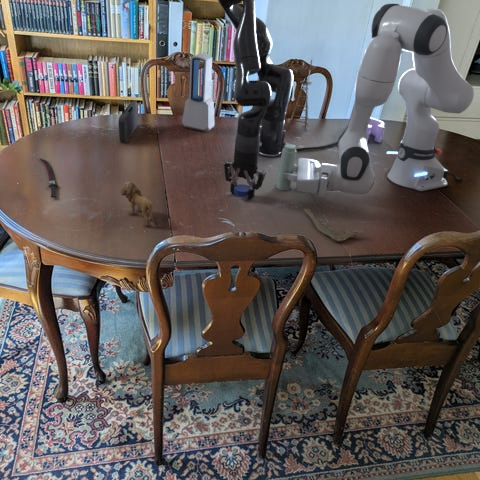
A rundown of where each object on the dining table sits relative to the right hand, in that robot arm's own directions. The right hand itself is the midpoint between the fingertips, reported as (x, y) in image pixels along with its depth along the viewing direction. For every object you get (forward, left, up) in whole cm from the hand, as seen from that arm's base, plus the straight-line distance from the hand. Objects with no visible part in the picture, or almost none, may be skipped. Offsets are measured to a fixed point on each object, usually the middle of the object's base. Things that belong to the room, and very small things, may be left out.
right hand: (283, 170), depth 158 cm
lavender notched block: (-60, -46, -6) cm, 76 cm away
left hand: (+16, +5, -6) cm, 18 cm away
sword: (+76, -16, -6) cm, 78 cm away
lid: (+16, +5, -3) cm, 17 cm away
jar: (-1, 0, -6) cm, 6 cm away
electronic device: (+16, -59, -6) cm, 61 cm away
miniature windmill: (-32, -58, -6) cm, 66 cm away
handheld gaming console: (+46, -54, -6) cm, 71 cm away
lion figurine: (+50, +13, -6) cm, 52 cm away
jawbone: (-6, +27, -6) cm, 28 cm away
